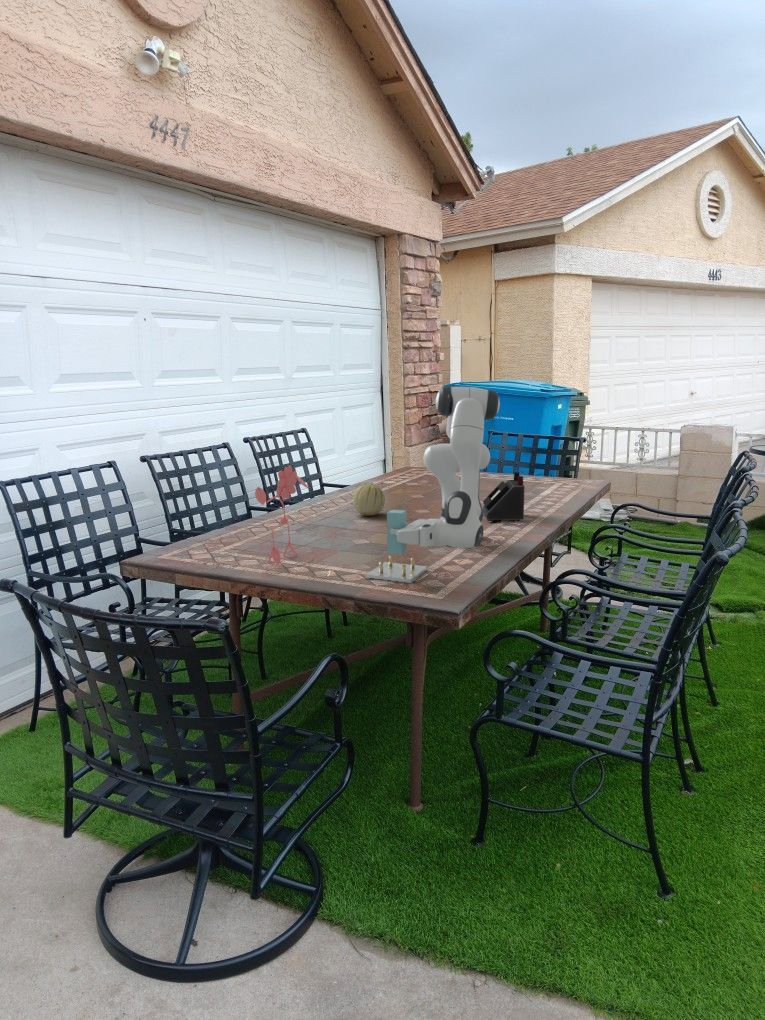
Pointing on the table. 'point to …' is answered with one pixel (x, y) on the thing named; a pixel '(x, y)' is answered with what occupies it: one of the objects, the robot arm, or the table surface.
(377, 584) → the table surface
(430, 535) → the robot arm
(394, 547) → the teal block
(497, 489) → the voltmeter
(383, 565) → the post plate
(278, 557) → the figurine
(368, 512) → the cantaloupe
